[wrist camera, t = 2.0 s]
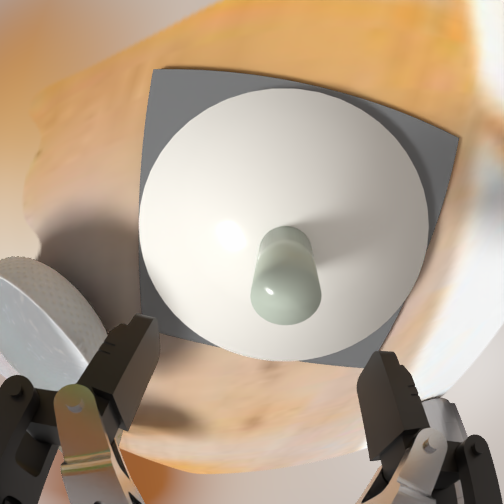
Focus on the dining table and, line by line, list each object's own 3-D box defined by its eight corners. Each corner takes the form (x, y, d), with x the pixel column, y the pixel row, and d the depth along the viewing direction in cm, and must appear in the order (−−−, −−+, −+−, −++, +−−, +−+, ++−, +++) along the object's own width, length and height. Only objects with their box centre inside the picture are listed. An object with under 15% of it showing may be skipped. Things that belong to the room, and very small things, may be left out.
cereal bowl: (46, 352, 28) (20, 386, 22) (-1, 238, 21) (-43, 266, 15) (152, 380, 27) (129, 432, 20) (106, 235, 20) (49, 279, 13)
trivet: (454, 137, 14) (458, 138, 13) (366, 363, 23) (367, 368, 22) (157, 70, 14) (153, 69, 14) (145, 323, 23) (143, 328, 22)
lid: (452, 142, 14) (510, 155, 8) (365, 363, 22) (378, 419, 16) (159, 76, 14) (105, 60, 9) (148, 325, 22) (118, 375, 17)
